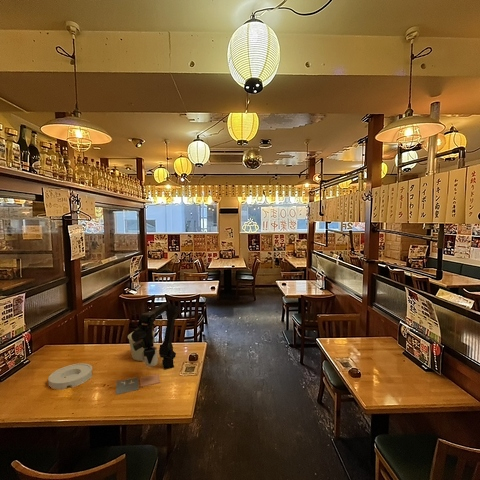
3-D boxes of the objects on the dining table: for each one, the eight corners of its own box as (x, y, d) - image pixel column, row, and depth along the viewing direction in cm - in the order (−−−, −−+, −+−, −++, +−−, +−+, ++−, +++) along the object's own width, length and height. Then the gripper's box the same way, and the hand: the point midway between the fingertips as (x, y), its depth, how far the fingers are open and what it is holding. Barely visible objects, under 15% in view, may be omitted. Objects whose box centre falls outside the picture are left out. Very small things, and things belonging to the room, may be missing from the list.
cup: (155, 367, 166) (154, 352, 165) (138, 366, 167) (137, 351, 166) (159, 361, 173) (158, 346, 172) (143, 360, 174) (143, 346, 173)
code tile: (138, 377, 174) (138, 376, 174) (138, 389, 161) (138, 389, 161) (116, 381, 169) (116, 381, 169) (115, 394, 156) (115, 394, 156)
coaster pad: (158, 374, 176) (158, 373, 176) (160, 382, 167) (160, 382, 167) (139, 378, 172) (139, 377, 172) (140, 387, 163) (140, 386, 163)
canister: (148, 349, 213) (146, 321, 212) (160, 356, 200) (159, 327, 199) (124, 357, 200) (122, 328, 199) (136, 366, 187) (134, 335, 186)
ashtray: (74, 367, 189) (73, 361, 189) (101, 372, 182) (100, 366, 181) (39, 386, 168) (38, 379, 167) (68, 393, 160) (67, 386, 160)
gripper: (133, 331, 174) (134, 356, 175) (133, 343, 156) (135, 371, 157) (152, 329, 178) (153, 353, 179) (154, 340, 160) (156, 367, 161)
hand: (149, 360), depth 169 cm, fingers closed on cup, 7 cm apart
